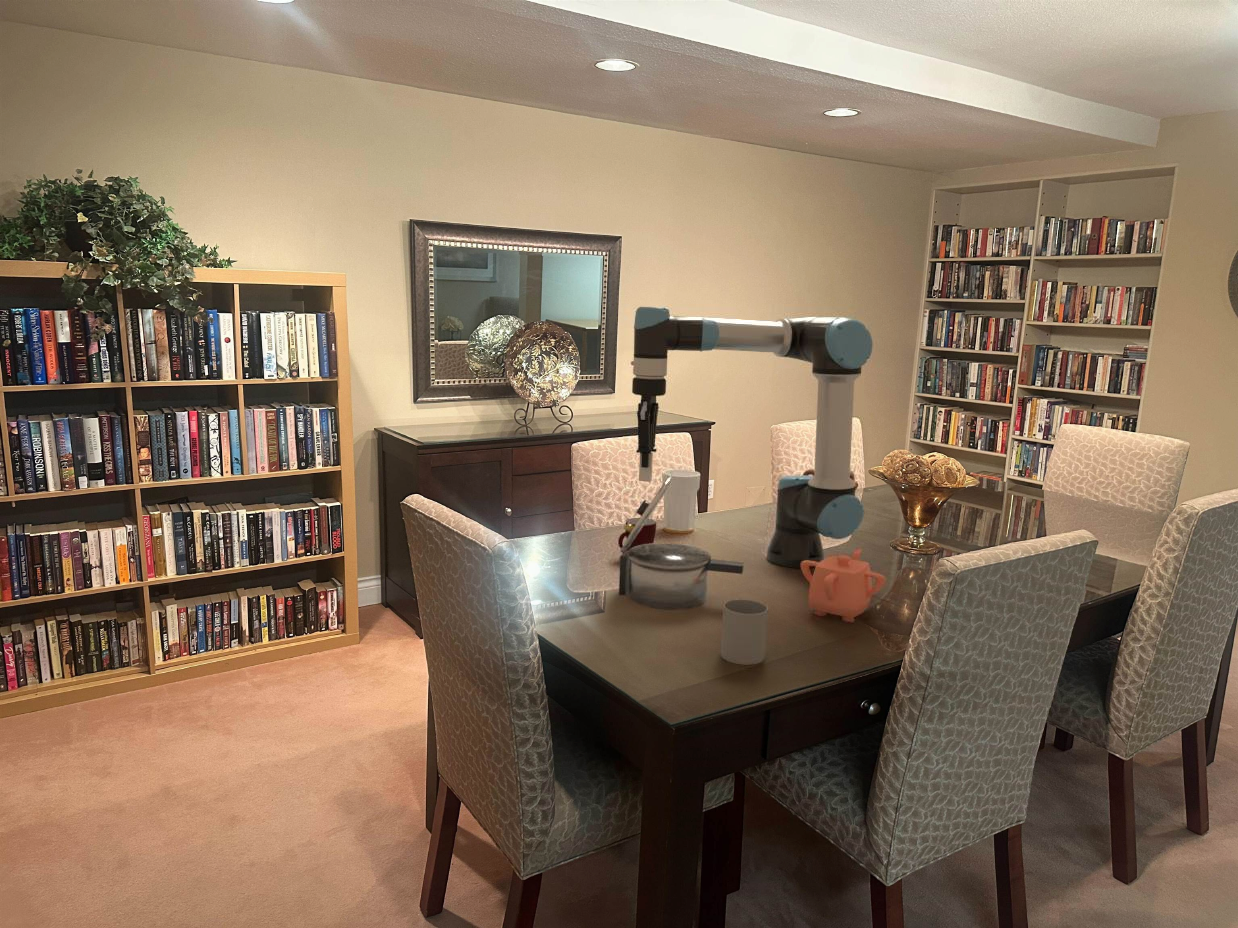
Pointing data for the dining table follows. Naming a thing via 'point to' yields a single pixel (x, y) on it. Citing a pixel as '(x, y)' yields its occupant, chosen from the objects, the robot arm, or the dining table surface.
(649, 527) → the mug
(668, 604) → the pot
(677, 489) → the cup
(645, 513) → the lid
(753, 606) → the cup
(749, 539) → the dining table surface
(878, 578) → the teapot
